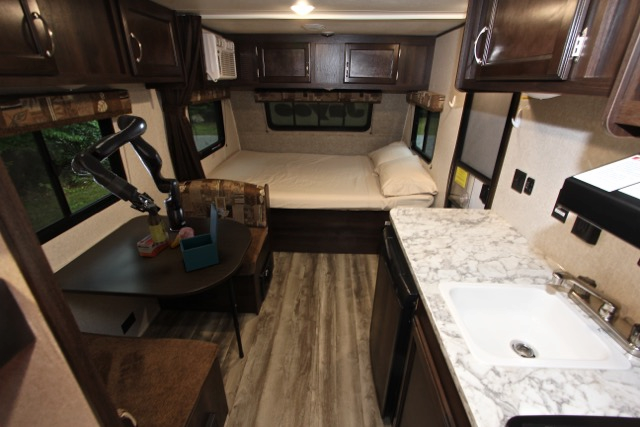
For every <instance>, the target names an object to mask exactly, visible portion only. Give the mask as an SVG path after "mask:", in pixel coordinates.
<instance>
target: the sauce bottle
mask: <svg viewBox="0 0 640 427" xmlns="http://www.w3.org/2000/svg"><path fill="white" fill-rule="evenodd" d="M148 206H149V207H150V208H152V209H153V210H155V211H156V212H158V211H157V206H158V204H157V203H155V202H154V203H153V204H149V203H148ZM146 221H147V224H148V229H149V232H150V234H151V237H152V240H153V243H154V245H163V244H165V243H166V242H167V235H166V232H167V230H166V227H165V222H164V220H163V217H162V215H161V214H160V213H159V212H158V214H157V215H156V216H153V215H152V214H150V213H148V216H147V220H146Z"/></svg>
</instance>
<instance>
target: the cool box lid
mask: <svg viewBox="0 0 640 427" xmlns="http://www.w3.org/2000/svg"><path fill="white" fill-rule="evenodd" d="M219 215H221V216H222V217H223V216H226V212H225V210H224V209H223V208H222V207H221V208H219V209H217V208H216V206H215V205H214V203H210V219H209V220H210V222H209V223H210V224H209V233H211V235H212V237H213V239H214V241H215V243H216V244H217V243H218V227H219V226H218V224H219Z"/></svg>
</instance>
